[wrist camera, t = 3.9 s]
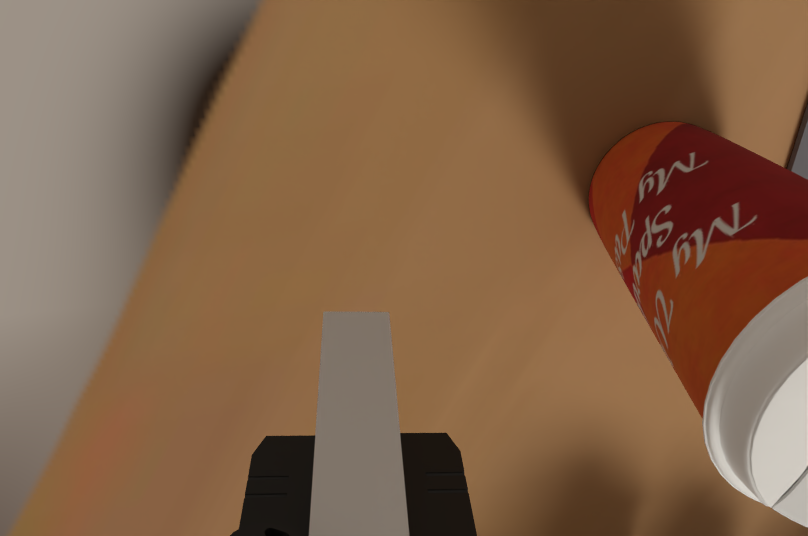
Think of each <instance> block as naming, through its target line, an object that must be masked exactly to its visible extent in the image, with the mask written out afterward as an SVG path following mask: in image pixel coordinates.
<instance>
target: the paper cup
mask: <svg viewBox="0 0 808 536" xmlns="http://www.w3.org/2000/svg"><path fill="white" fill-rule="evenodd" d="M589 209H590V214H591V218H592V221H593V223H594V226H595V228H596V230H597V232H598V234H599V236H600V238H601V240H602V242H603V244H604V246H605V248H606V250H607V252H608V253H609V255H610V257H611V259H612V261H613V262H614V264H615V266H616V268H617V270H618V271H619V273H620V275H621V277H622V279H623V280H624V282H625V284H626V286H627V287H628V289H629V291H630V293H631V294H632V296H633V298H634V300H635V302H636V303H637V305H638V307H639V309H640V310H641V312H642V314H643V316H644V317H645V319H646V321H647V323H648V324H649V326H650V328H651V330H652V331H653V333H654V335H655V337H656V338H657V340H658V342H659V344H660V345H661V347H662V349H663V351H664V352H665V354H666V356H667V358H668V359H669V361H670V363H671V365H672V366H673V368H674V370H675V372H676V373H677V375H678V377H679V379H680V380H681V382H682V384H683V386H684V387H685V389H686V391H687V393H688V394H689V396H690V398H691V400H692V401H693V403H694V405H695V407H696V408H697V410H698V412H699V414H700V415H701V417H702V419H703V422H702V424H703V433H704V442H705V445H706V447H707V450H708V453H709V456H710V459H711V460H712V462H713V463H714V465H715V466H716V468H717V470H718V471H719V473H720V474H721V475H722V476H723V477H724V478H725V479H726V480H727V481H728V482H729V483H730V484H731V485H732V486H733V487H734V488H735V489H737V490H738V491H740V492H742V493H743V494H745V495H746V496H748V497H750V498H752V499H754V500H756V501H758V502H761V503H763V504H764V505H765V506H769V507H770V508H772V509H773V510H775V511H777V512H779V513H780V514H782V515H784V516H785V517H787V518H789V519H790V520H792V521H795V522H797V523H799V524H801V525H803V526H805V527H807V528H808V180H807V179H805V178H803V177H801V176H800V175H798V174H796V173H794V172H792V171H790V170H787V169H785V168H783V167H781V166H779V165H777V164H775V163H773V162H771V161H769V160H767V159H766V158H764V157H762V156H760V155H758V154H756V153H754V152H751V151H749V150H747V149H745V148H743V147H741V146H739V145H737V144H735V143H733V142H731V141H729V140H727V139H725V138H723V137H721V136H719V135H716V134H714V133H712V132H710V131H708V130H705V129H703V128H700V127H698V126H695V125H692V124H687V123H682V122H660V123H655V124H651V125H648V126H645V127H642V128H640V129H637V130H635V131H633V132H632V133H630V134H628V135H627V136H625V137H624V138H622V139H621V140H620V141H619V142H617V143H616V144H615V145H614V146H613V147H612V148H611V149H610V150H609V151H608V152H607V154H606V155H605V156H604V157H603V159H602V160H601V162H600V163H599V165H598V167H597V169H596V171H595V173H594V175H593V178H592V181H591V185H590V190H589Z"/></svg>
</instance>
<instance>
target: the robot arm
mask: <svg viewBox="0 0 808 536" xmlns="http://www.w3.org/2000/svg"><path fill="white" fill-rule="evenodd" d="M230 536H477V534H476V529H475V524H474V519H473V513H472V508H471V503H470V498H469V493H468V488H467V483H466V478H465V476H464V468H463V462H462V457H461V452H460V450H459V449H458V447H457V446H456V445H455V444H454V442H453V441H452V440H451V438H450V437H449V436H448V434H447V433H400V427H399V416H398V405H397V394H396V383H395V372H394V361H393V350H392V339H391V328H390V317H389V312H324V313H323V328H322V344H321V359H320V374H319V389H318V404H317V419H316V434H315V436H266V437H265V438H264V440H263V441H262V442H261V444H260V445H259V446H258V448H257V449H256V450H255V452H254V453H253V454H252V458H251V464H250V469H249V475H248V481H247V486H246V492H245V498H244V503H243V509H242V515H241V520H240V526H239V530H237V531H235V532H233V533H232V534H231V535H230Z"/></svg>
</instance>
